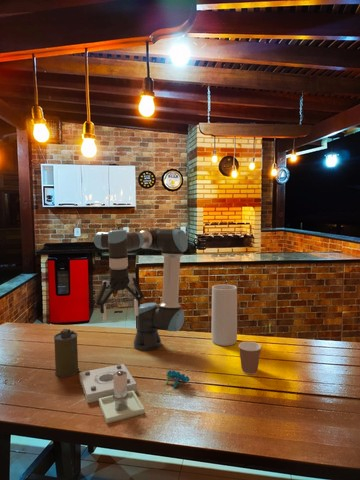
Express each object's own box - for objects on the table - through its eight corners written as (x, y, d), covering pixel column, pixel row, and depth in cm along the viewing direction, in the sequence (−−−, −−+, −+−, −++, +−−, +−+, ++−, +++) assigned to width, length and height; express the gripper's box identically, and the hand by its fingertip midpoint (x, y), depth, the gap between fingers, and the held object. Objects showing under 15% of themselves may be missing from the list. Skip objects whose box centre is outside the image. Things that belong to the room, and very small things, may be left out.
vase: (238, 346, 186) (239, 289, 183) (212, 346, 187) (212, 290, 184) (234, 336, 201) (235, 284, 198) (210, 336, 201) (210, 284, 198)
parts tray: (133, 395, 139) (133, 390, 138) (144, 413, 126) (144, 408, 126) (98, 403, 133) (98, 398, 133) (106, 423, 120) (106, 418, 120)
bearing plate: (123, 370, 159) (123, 362, 159) (136, 391, 141) (136, 381, 141) (79, 380, 151) (79, 370, 151) (87, 403, 133) (87, 392, 132)
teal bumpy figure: (194, 380, 147) (182, 370, 141) (190, 394, 144) (178, 384, 138) (173, 376, 153) (162, 367, 148) (169, 389, 150) (157, 380, 144)
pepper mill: (126, 401, 133) (125, 367, 132) (131, 409, 128) (130, 373, 127) (111, 404, 131) (110, 370, 129) (115, 413, 125) (114, 377, 124)
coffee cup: (262, 368, 161) (263, 343, 160) (258, 378, 152) (258, 351, 151) (241, 364, 165) (241, 340, 164) (235, 373, 156) (235, 348, 155)
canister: (71, 378, 153) (69, 334, 151) (50, 375, 155) (48, 333, 153) (83, 367, 164) (81, 326, 162) (63, 365, 166) (61, 325, 164)
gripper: (144, 263, 149) (145, 310, 151) (86, 269, 138) (88, 320, 140) (150, 266, 142) (152, 315, 144) (89, 272, 131) (92, 325, 134)
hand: (120, 317), depth 142 cm, fingers open, 13 cm apart
